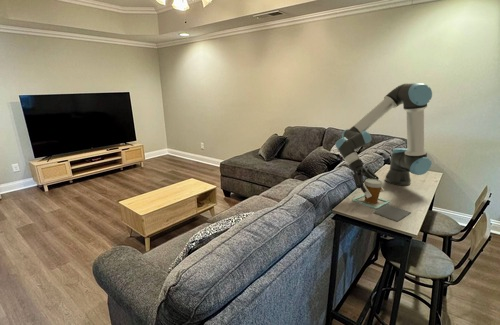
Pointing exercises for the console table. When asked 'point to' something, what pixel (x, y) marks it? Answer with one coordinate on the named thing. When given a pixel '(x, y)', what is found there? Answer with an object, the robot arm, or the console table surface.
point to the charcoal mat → (392, 212)
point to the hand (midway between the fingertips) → (376, 194)
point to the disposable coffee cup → (373, 190)
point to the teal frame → (371, 205)
